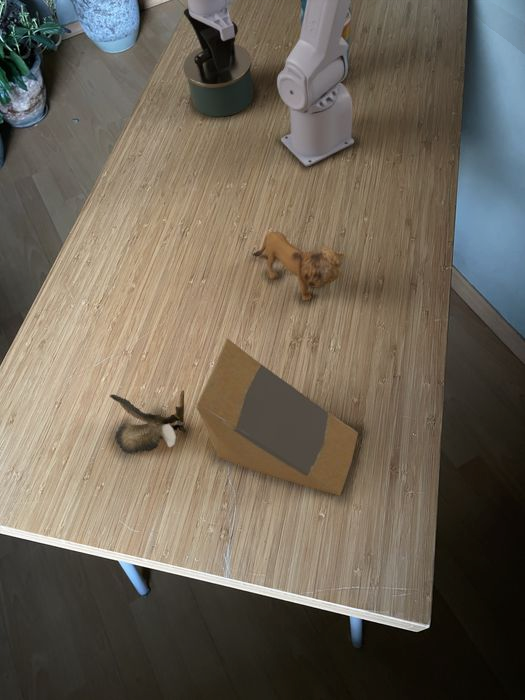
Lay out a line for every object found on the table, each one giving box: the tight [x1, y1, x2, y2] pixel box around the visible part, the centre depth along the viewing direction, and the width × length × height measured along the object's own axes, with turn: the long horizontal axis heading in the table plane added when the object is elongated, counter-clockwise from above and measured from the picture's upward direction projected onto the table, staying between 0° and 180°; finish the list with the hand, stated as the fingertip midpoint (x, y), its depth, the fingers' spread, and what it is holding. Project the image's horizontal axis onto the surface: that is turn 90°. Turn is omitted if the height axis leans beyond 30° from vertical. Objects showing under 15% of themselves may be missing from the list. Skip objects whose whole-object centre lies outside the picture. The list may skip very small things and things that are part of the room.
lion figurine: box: [252, 231, 345, 302], centre depth 80 cm, size 15×5×9 cm, turn 55°
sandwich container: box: [195, 337, 359, 496], centre depth 65 cm, size 9×15×15 cm, turn 71°
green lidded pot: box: [182, 38, 254, 118], centre depth 101 cm, size 12×12×10 cm
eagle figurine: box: [109, 389, 186, 455], centre depth 71 cm, size 8×7×9 cm
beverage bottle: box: [299, 0, 352, 83], centre depth 98 cm, size 8×8×20 cm
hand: (216, 59), depth 99 cm, fingers open, 5 cm apart
